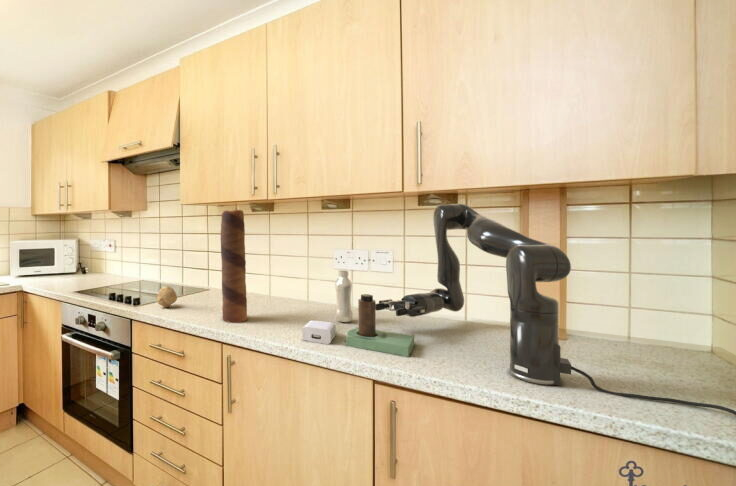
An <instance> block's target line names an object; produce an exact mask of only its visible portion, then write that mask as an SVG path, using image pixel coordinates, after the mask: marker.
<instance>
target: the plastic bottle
mask: <svg viewBox="0 0 736 486" xmlns="http://www.w3.org/2000/svg"><path fill="white" fill-rule="evenodd" d="M337 276H338V278H337V279H336V281H335V283H334V288H335V293H336V294H335V295H336V305H335V319H336V321H338V322H340V323H341V322H342V323H349V322H351V321H353V317H354V316H353V311H352V303H351V301H352V299H351V298H352V290H353V289H352V288H353V284H352V282H351V280H350V278H349V270H339V271H338V274H337Z"/></svg>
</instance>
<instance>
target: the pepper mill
mask: <svg viewBox="0 0 736 486" xmlns="http://www.w3.org/2000/svg"><path fill="white" fill-rule="evenodd" d="M357 301H358V302H357V305H358V307H357V308H358V310H357V311H358V327H359V335H360V336H364V337H376V330H377V328H376V327H377V326H376V325H377V323H376V322H377V319H376V315H377V314H376V311H377V310H376V304H377V303H376V300H375V299H374V295H373V294H369V293H368V294H367V293H363V294H361V295H360V298H358V300H357Z"/></svg>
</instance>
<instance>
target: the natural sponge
mask: <svg viewBox="0 0 736 486" xmlns="http://www.w3.org/2000/svg"><path fill="white" fill-rule="evenodd" d="M177 300H178V295H177V293H176V291H175V290H174V288H172V286H169V285H168V286H167V285H166V286H163V287H161V288H160V289H159V291H158V293H157V299H156V301H157V304H158V305H160V306H162V307H163V308H169V307H170V306H172V305H173V304H175V303H176V302H177Z"/></svg>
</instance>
